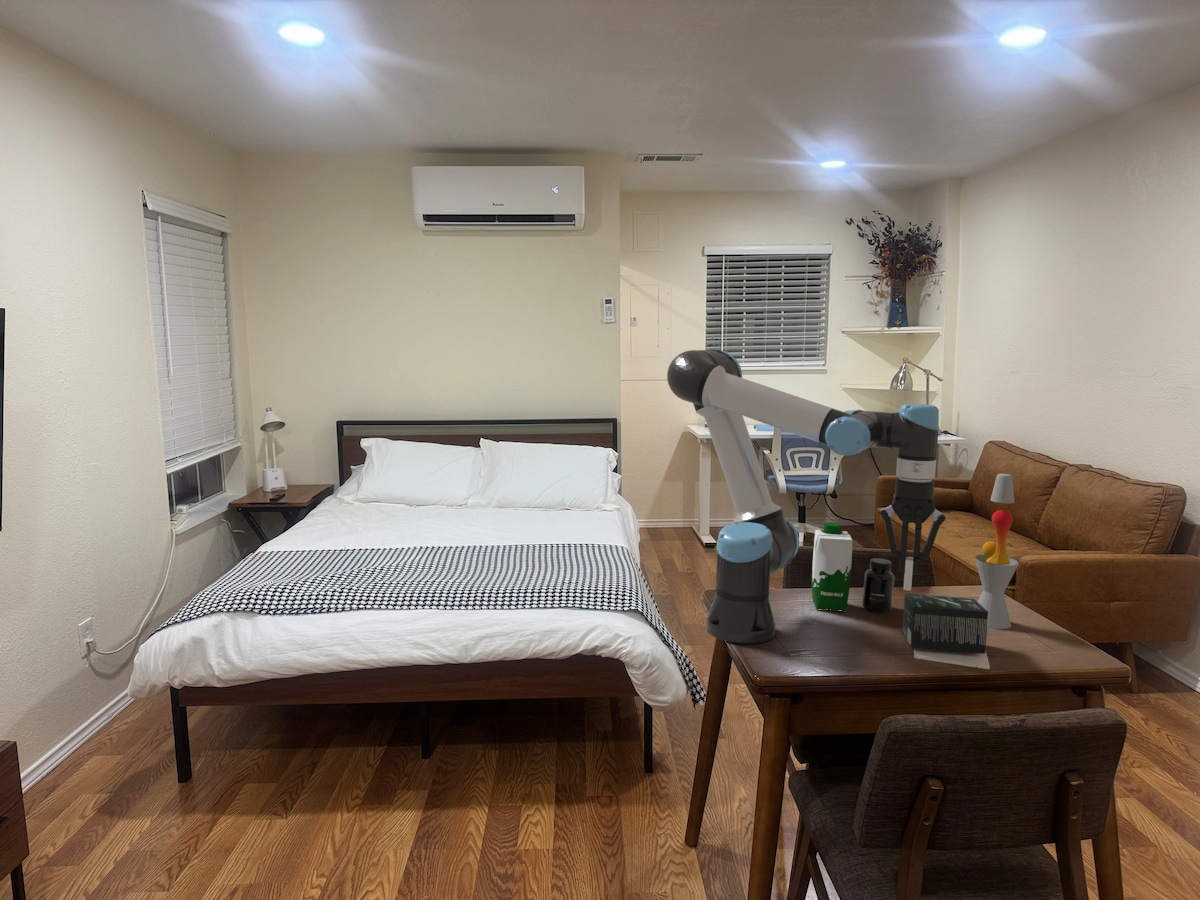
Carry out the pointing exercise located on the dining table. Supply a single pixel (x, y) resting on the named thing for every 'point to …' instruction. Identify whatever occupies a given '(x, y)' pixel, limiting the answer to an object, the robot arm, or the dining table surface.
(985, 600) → the lava lamp
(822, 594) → the milk carton
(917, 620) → the tampon box
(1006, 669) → the dining table surface
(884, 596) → the supplement bottle
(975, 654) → the mat
